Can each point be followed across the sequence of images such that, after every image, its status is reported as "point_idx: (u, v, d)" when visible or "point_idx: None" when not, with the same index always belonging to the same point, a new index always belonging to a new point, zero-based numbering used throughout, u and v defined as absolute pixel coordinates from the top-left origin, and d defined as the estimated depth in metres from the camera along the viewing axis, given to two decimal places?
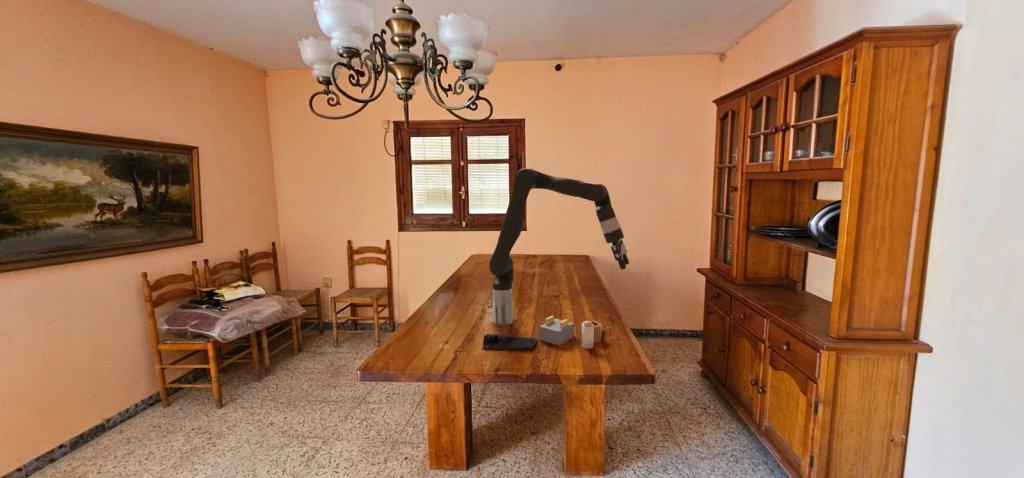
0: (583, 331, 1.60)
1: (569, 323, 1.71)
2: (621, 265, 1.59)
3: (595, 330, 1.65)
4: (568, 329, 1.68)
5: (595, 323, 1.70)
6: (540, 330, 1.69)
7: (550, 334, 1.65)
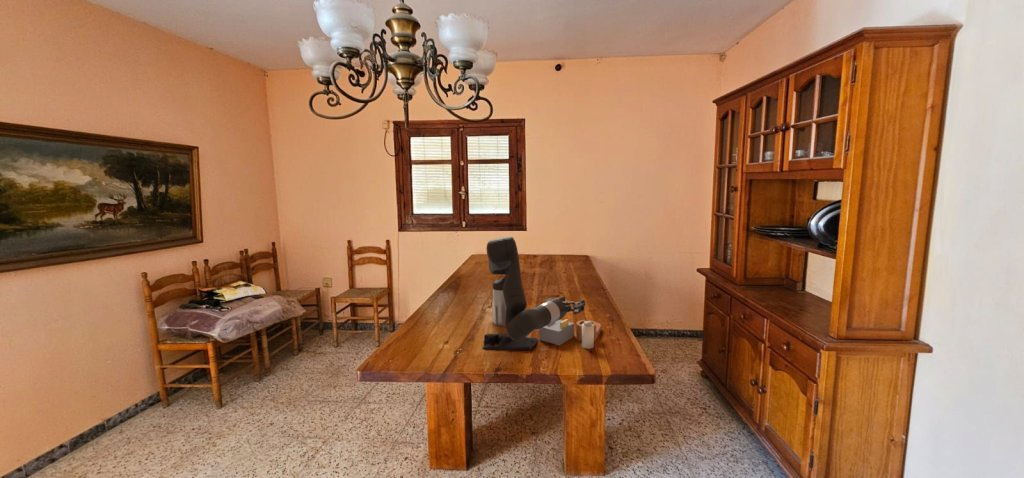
0: (583, 331, 1.60)
1: (569, 323, 1.71)
2: None
3: None
4: (568, 329, 1.68)
5: None
6: (540, 330, 1.69)
7: (550, 334, 1.65)
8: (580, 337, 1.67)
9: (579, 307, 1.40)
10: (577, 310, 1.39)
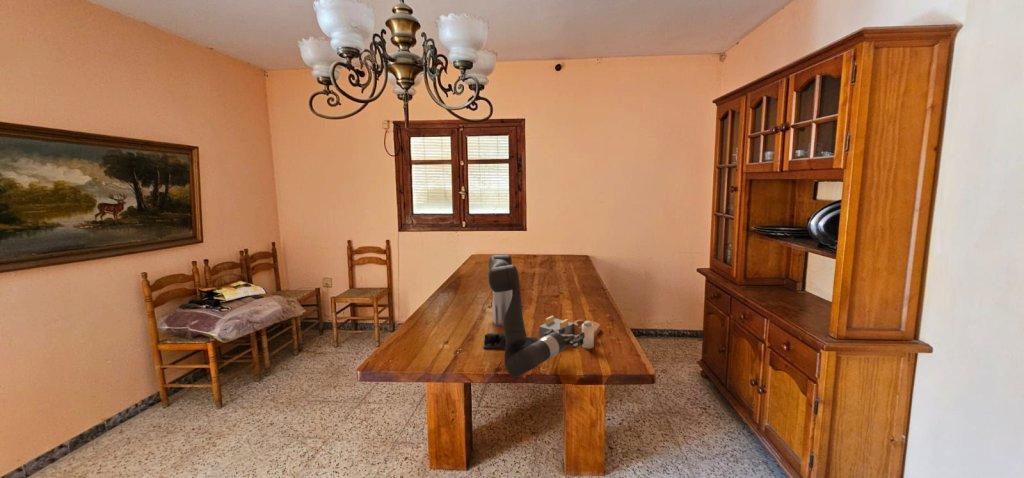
0: (583, 331, 1.60)
1: (569, 323, 1.71)
2: None
3: None
4: (568, 329, 1.68)
5: None
6: (540, 330, 1.69)
7: None
8: None
9: (578, 341, 1.41)
10: (576, 344, 1.40)
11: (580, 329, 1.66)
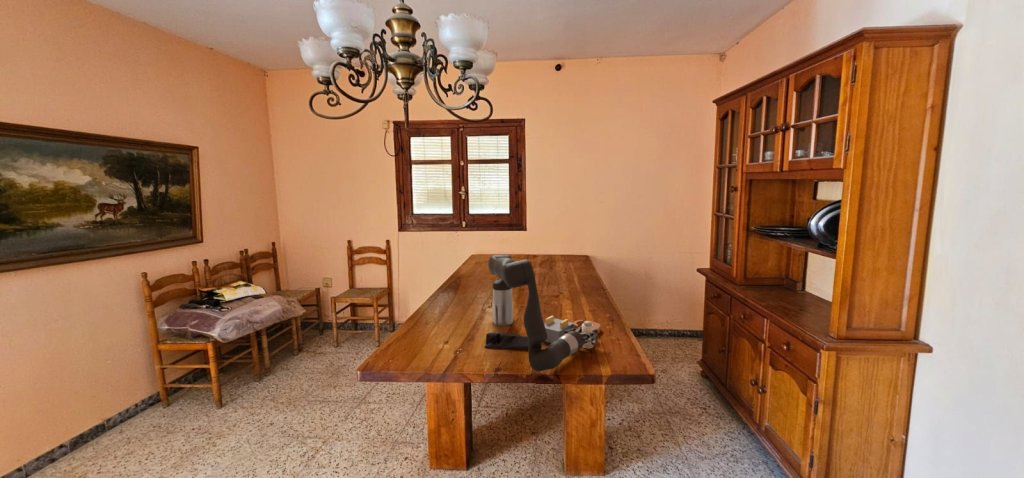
0: (583, 331, 1.60)
1: (569, 323, 1.71)
2: None
3: None
4: None
5: None
6: None
7: (550, 334, 1.65)
8: None
9: (595, 337, 1.53)
10: (594, 341, 1.52)
11: None
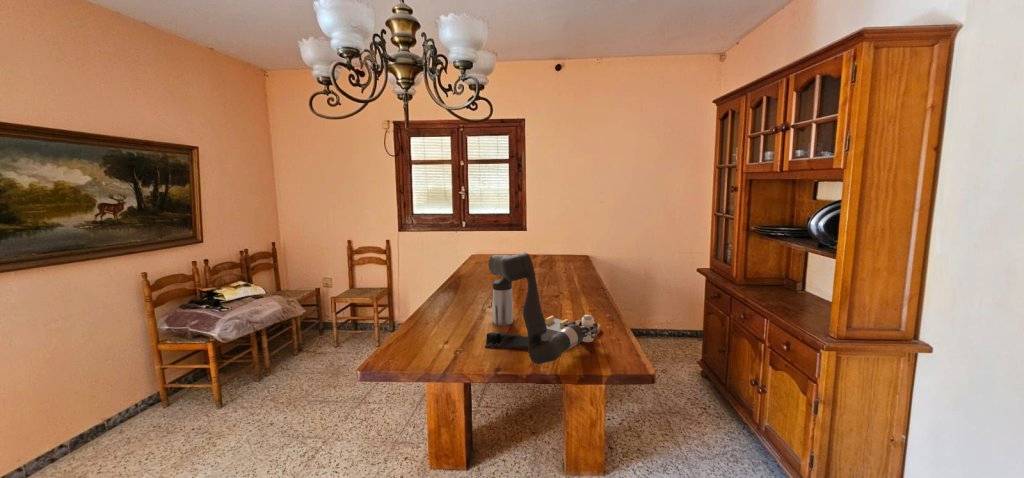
0: (583, 324, 1.60)
1: None
2: None
3: None
4: None
5: None
6: None
7: (550, 334, 1.65)
8: None
9: (595, 331, 1.53)
10: (594, 334, 1.52)
11: None
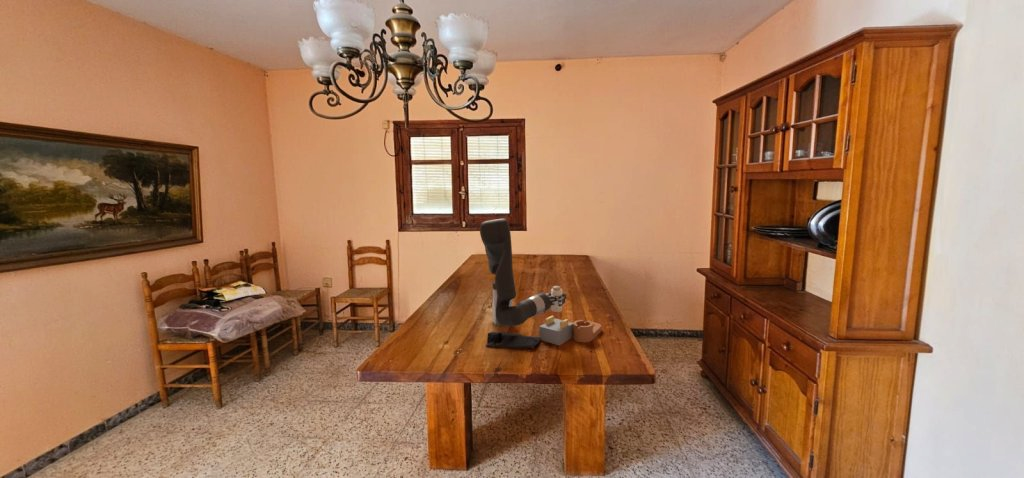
0: (552, 295, 1.67)
1: (569, 323, 1.71)
2: None
3: (584, 330, 1.65)
4: (568, 329, 1.68)
5: (589, 323, 1.70)
6: (540, 330, 1.69)
7: (550, 334, 1.65)
8: (576, 337, 1.67)
9: (562, 300, 1.60)
10: (561, 302, 1.59)
11: (579, 329, 1.66)
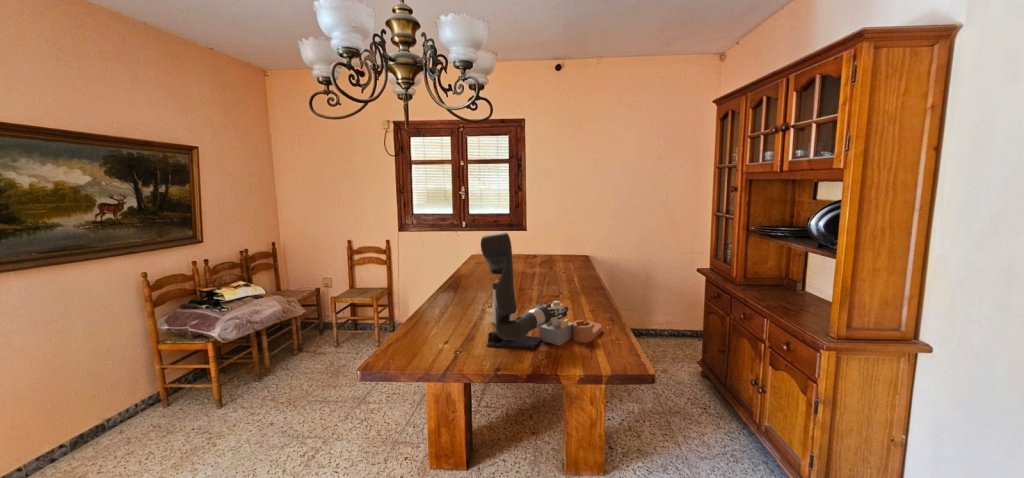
0: None
1: (569, 323, 1.71)
2: None
3: (584, 330, 1.65)
4: (568, 329, 1.68)
5: (588, 324, 1.70)
6: (540, 330, 1.69)
7: (550, 334, 1.65)
8: (575, 337, 1.67)
9: (562, 313, 1.60)
10: (561, 316, 1.59)
11: (578, 329, 1.66)
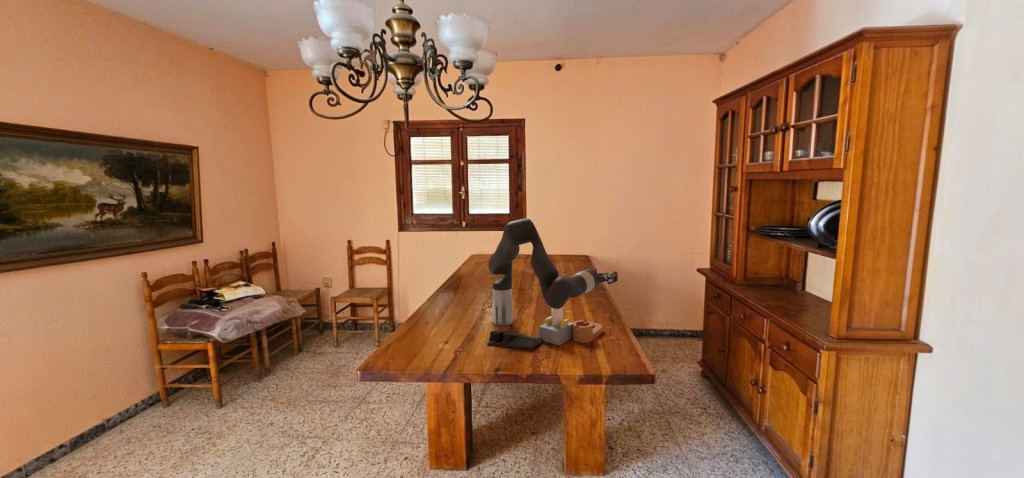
0: (553, 310, 1.68)
1: (569, 323, 1.71)
2: None
3: (583, 330, 1.65)
4: (568, 329, 1.68)
5: (588, 324, 1.69)
6: (540, 330, 1.69)
7: (550, 334, 1.65)
8: (574, 337, 1.67)
9: (613, 277, 1.41)
10: (611, 280, 1.40)
11: (578, 330, 1.66)
